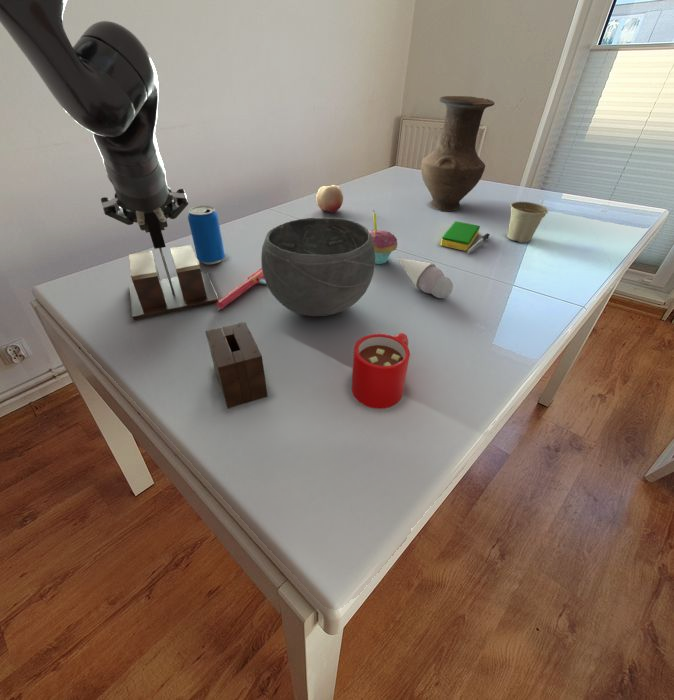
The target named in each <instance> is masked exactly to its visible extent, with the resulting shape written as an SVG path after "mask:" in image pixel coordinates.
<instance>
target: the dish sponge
mask: <svg viewBox="0 0 674 700" xmlns="http://www.w3.org/2000/svg"><path fill="white" fill-rule="evenodd" d="M480 229H481V226H480V225H479V224H472V223H467V222H462V221H454V222H453V223H452V224H451V226H450V227H449V228H448V229H447V230H446V232H445V233H444V234H443V235H442V236H441V239H440V240H441V241H440V246H442V247H445V248H451V249H455V250H460V251H465V252H468V250H469V249H470V248H471V247H472V244H473V242H474V241H475V239H476V238H477V236H478V235H479V232H480Z"/></svg>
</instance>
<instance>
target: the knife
mask: <svg viewBox="0 0 674 700" xmlns="http://www.w3.org/2000/svg"><path fill="white" fill-rule="evenodd" d="M489 238H490V233H485V234H484V235H482V236H481V237H480V239H479V240H477V242H476V243H474V244H473V245H471V246H470V247H469V249H468V250H467V253H468V254H469V253H470V254H471V253H472V252H473V251H475V250H477V249H478V248H481V246H482V244H483V242H485V241H487V240H488V239H489Z"/></svg>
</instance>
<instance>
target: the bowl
mask: <svg viewBox="0 0 674 700" xmlns="http://www.w3.org/2000/svg"><path fill="white" fill-rule="evenodd" d="M369 232H370V231H369V229H368V228H367V227H366V226H364V225H363V224H360V223H359V222H355V220H350V219H346V218H337V217H308V218H299V219H294V220H290V221H288V222H284V223H282V224H279V225H277V226H276V227H273V228H272V229H270V230H269V231H268V232H267V233H266V235H265V238H264V241H263V242H262V243H263V244H262V246H261V255H260V256H261V258H260V261H261V262H260V263H261V268H262V271H263V275H264V278H265V279H264V280H265V281H266V284H267V285H266V284H265V285H266V286H267V288H268V290H269V292H270V293H271V294H272V296H273V297H274V298H275V299H276V300H277V301H278V303H280V304H281V305H282V306H284V308H286V309H287V310H289V311H291V312H293V313H296V314H298V315H302V316H308V317H327V316H332V315H335V314H339V313H341V312H344V311H346V310H348V309H350V308H351V307H352V306H354V305H355V304H356V303H357V302H358V301H359V300H361V298H362V297H363V296H364V295H365V293H366V292H367V290H368V288H370V287H369V286H370V285H371V283H372V280H373V276H374V272H375V269H376V268H375V267H376V264H375V250H374V247H373V246H374V245H373V241H372V237H371V235H370V233H369Z"/></svg>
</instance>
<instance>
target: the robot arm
mask: <svg viewBox="0 0 674 700" xmlns="http://www.w3.org/2000/svg"><path fill="white" fill-rule="evenodd" d="M67 3H68V0H0V24H1V25H2V27H3V28H4V29H5V30H6V32H7V33H8V35H9V36H10V37H11V38H12V40H13V41H14V42H15V44H16V45H17V47H18V48H19V49H20V51H21V52H22V53H23V55H24V56H25V57H26V59H27V60H28V61H29V63H30V64H31V66H32V67H33V68H34V71H36V73H37V74H38V76H39V77H40V79H41V80H42V82H43V83H44V85H45V86H46V87H47V89H48V90H49V92H50V93H51V95H52V96H53V97H54V99H55V100H56V101H57V102H58V104H59V105H60V107H61V108H62V109H63V110H64V111H65V113H66V114H67V115H69V117H70V118H72V119H73V121H75V122H76V123H77V124H79V125H80V126H81V127H82V128H84V129H85V130H87V131H89V132H91V133H92V137H93V140H94V142H95V145H96V146H97V149H98V151H99V153H100V156H101V158H102V163H103V166H104V169H105V172H106V176H107V178H108V180H109V182H110V183H111V185H112V188H113V190H114V192H115V193H114V198H112V199H111V198H109V197H105V196H104V197H103V196H102V197H101V198H100V203H101V206H102V209H103V213H104V215H105V216H108V217H110V218H112V219H114V220H117V221H118V222H120V223H122V224H125V225H127V226H131V225H133V224H134V223H136V224H137V225H138V227H139V229H140V230H141V231H145V233H146V234H147V233H150V232H149V229H148V226H147V223H146V219H145V216H144V214H146V213H155V214H156V216H157V218H158V221H159V225H160V228H161V231H165V228H168V226H169V225H168V221H167V220H168V219H170V220H175V219H177V218H178V217H179V215H181V213H182V212H183V211H184V210H185V209H186V208H187V207H188V206H189V200H188V198H187V194H186V191H185V189H184V188H179V189H177V190H176V191H172V189H171V187H169V186H168V182H167V172H166V169H165V167H164V162H163V159H162V156H161V154H160V151H159V146H158V142H157V137H156V125H157V121H158V107H159V92H160V91H159V90H160V89H159V80H158V74H157V70H156V67H155V65H154V62H153V59H152V57H151V56H150V53H149V51H148V50H147V48H146V47H145V45H144V44H143V43H142V42H141V41H140V39H139V38H138V37H137V36H136V35H135V34H134V33H133V32H132V31H130V29H128V28H126V27H125V26H123V25H121V24H119V23H117V22H114V21H109V20H100V21H97V22H95V23H92V24H91V25H90V26H89V27H88V28H87V29H86V30H85V31H84V32H83V33H82V35H81V36H80V38H79V39H78V40H77V41H76V43H75V44H74V45H72V43H71V41H70V39H69V37H68V35H67V33H66V31H65V28H64V21H63V19H64V12H65V9H66V5H67Z"/></svg>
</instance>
